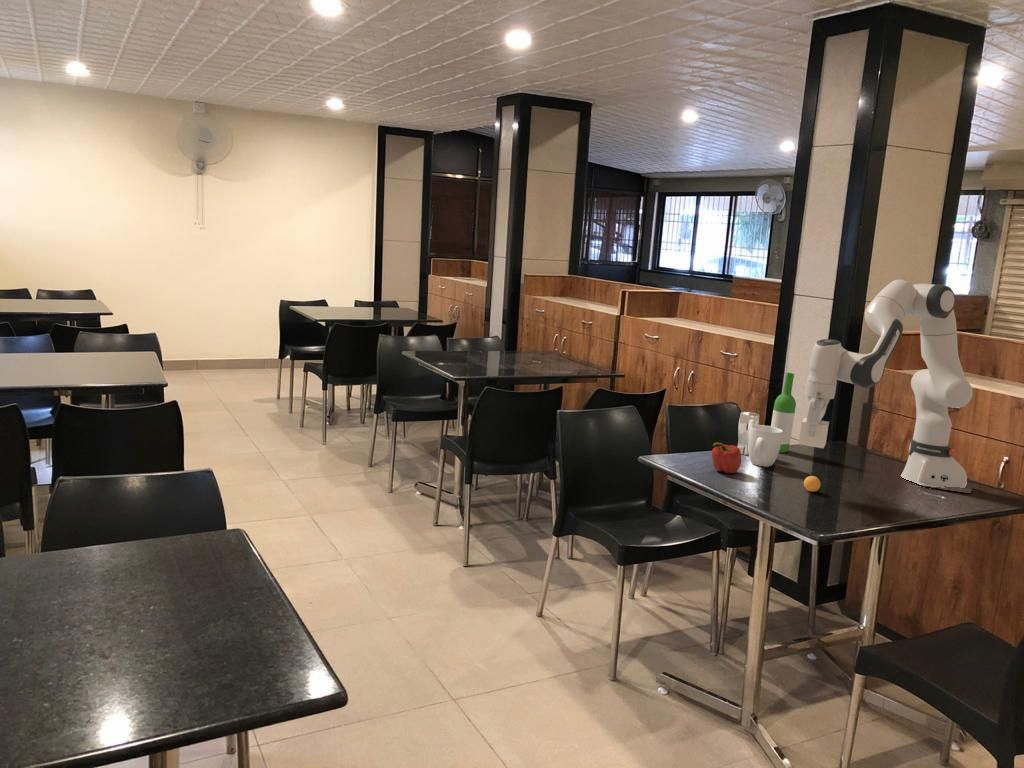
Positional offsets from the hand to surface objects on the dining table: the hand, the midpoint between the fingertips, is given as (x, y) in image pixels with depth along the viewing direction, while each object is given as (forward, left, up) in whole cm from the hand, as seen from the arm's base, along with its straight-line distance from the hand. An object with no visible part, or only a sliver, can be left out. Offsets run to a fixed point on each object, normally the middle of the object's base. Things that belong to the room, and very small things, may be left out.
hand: (812, 433), depth 259 cm
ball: (-2, 0, -16) cm, 16 cm away
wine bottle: (+15, -49, -19) cm, 55 cm away
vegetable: (+26, -2, -19) cm, 32 cm away
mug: (+17, -21, -19) cm, 33 cm away
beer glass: (+25, -34, -19) cm, 46 cm away
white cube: (0, 0, -3) cm, 3 cm away
